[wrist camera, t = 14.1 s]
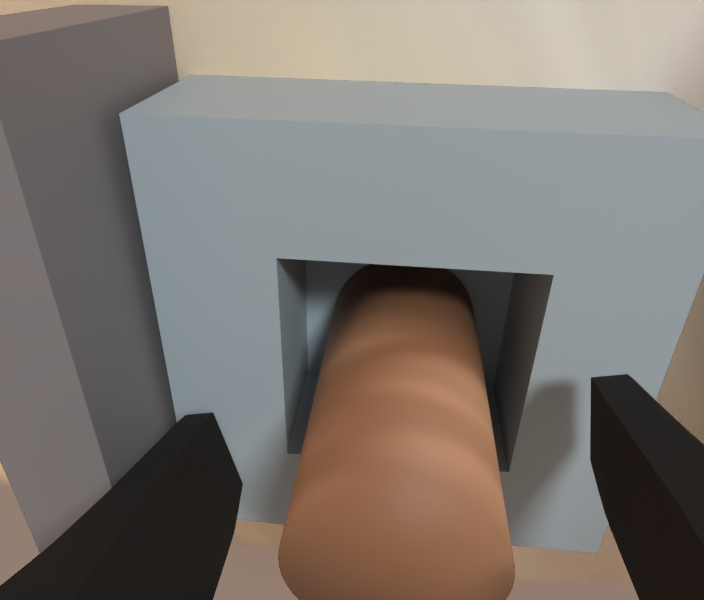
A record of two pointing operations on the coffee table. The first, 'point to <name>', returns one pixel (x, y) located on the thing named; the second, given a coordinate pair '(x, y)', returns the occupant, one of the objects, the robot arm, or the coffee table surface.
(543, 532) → the socket block
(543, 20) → the coffee table surface
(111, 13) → the charcoal wall
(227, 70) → the coffee table surface
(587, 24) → the coffee table surface
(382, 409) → the dowel
